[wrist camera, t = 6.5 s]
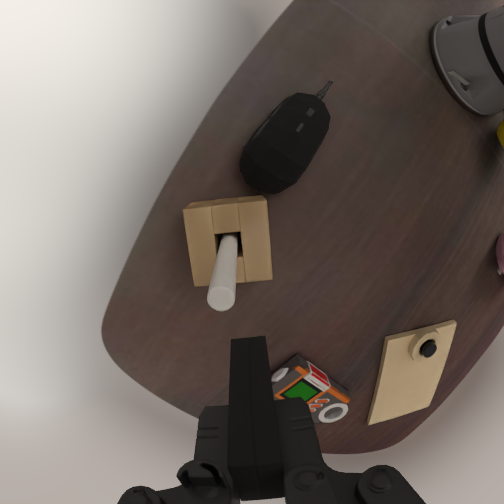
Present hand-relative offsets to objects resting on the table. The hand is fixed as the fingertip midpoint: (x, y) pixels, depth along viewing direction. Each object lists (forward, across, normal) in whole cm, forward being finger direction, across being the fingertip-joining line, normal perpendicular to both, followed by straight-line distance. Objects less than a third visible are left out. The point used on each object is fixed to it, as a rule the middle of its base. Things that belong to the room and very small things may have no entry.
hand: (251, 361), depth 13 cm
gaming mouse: (+20, +6, +12) cm, 24 cm away
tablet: (+20, +24, -25) cm, 40 cm away
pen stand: (+20, -1, +1) cm, 20 cm away
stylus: (+20, -1, +1) cm, 20 cm away
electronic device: (+20, +7, -23) cm, 31 cm away
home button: (+18, +24, -18) cm, 35 cm away
